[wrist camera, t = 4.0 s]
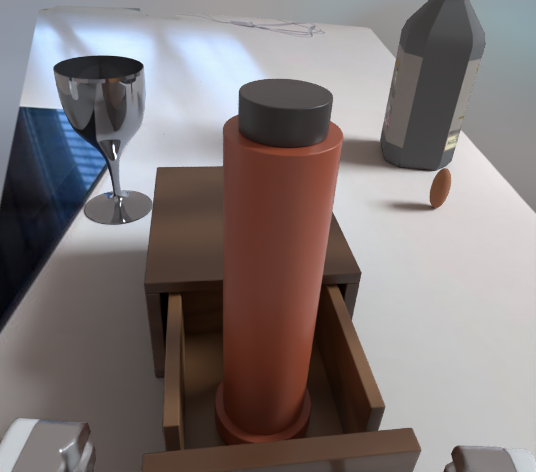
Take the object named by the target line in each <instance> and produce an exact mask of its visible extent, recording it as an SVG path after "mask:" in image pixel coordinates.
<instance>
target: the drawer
mask: <svg viewBox="0 0 536 472" xmlns="http://www.w3.org/2000/svg"><path fill="white" fill-rule="evenodd" d="M222 380H223V290H205V291H185V292H169V293H168V314H167V336H166V357H165V378H164V400H163V421H162V428H163V437H164V445H165V452H157V453H147V454H143V456H142V469H141V472H413V470H414V467H415V465H416V462H417V460H418V457H419V455H420V452H421V447H420V445H419V443H418V440H417V438H416V436H415V434H414V431H413V429H412V428H402V429H392V430H382V431H378V430H379V426H380V423H381V420H382V416H383V413H384V410H385V404H384V401H383V399H382V396H381V394H380V391H379V389H378V386H377V384H376V381H375V379H374V376H373V374H372V371H371V369H370V366H369V363H368V361H367V358H366V356H365V353H364V351H363V348H362V346H361V343H360V341H359V338H358V336H357V333H356V331H355V328H354V326H353V323H352V320H351V318H350V315H349V313H348V310H347V308H346V305H345V303H344V300H343V298H342V295H341V293H340V290H339V288H338V285H337V284H322V285H321V290H320V296H319V303H318V310H317V316H316V323H315V330H314V336H313V343H312V350H311V356H310V363H309V370H308V377H307V383H306V386H307V388H308V390H309V393H310V396H311V405H312V407H311V414H310V420H309V426H308V429H307V432H306V434H305V436H304V438H300V439H290V440H280V441H269V442H259V443H249V444H239V445H228V444H227V443H226V442H225V441H224V440H223V439H222V437H221V435H220V434H219V432H218V429H217V426H216V422H215V395H216V391H217V388H218V386H219V384H220V383H221V381H222Z"/></svg>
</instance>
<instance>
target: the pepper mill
mask: <svg viewBox="0 0 536 472" xmlns="http://www.w3.org/2000/svg"><path fill="white" fill-rule="evenodd" d="M332 102H333V95H332V93H331V92H330V91H328V90H327V89H325V88H324V87H321V86H319V85H316V84H313V83H309V82H305V81H299V80H291V79H264V80H257V81H253V82H249V83H247V84H245V85H243V86H242V87H241V88H240V90H239V111H238V115H236V116H234V117H232V118H230V119H229V120H228V121H227V122H226V123H225V124H224V127H223V380H222V381H221V383H220V384H219V386H218V388H217V391H216V395H215V422H216V426H217V429H218V432H219V434H220V435H221V437H222V439H223V440H224V441H225V442H226V443H227V444H228V445H239V444H249V443H259V442H269V441H280V440H290V439H300V438H304V436H305V434H306V432H307V429H308V426H309V420H310V414H311V407H312V405H311V396H310V393H309V390H308V388H307V386H306V383H307V377H308V370H309V363H310V356H311V350H312V343H313V336H314V330H315V323H316V316H317V310H318V303H319V296H320V290H321V283H322V276H323V270H324V263H325V256H326V249H327V243H328V236H329V229H330V223H331V216H332V209H333V203H334V196H335V189H336V183H337V176H338V169H339V163H340V156H341V149H342V142H343V133H342V131H341V129H340V128H339V127H338V126H337V125H336V124H334V123H333V122H331V121H330V118H331V110H332Z"/></svg>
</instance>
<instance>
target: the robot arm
mask: <svg viewBox="0 0 536 472" xmlns="http://www.w3.org/2000/svg"><path fill="white" fill-rule="evenodd" d="M90 432H91V431H90V428H89V425H88V423H84V422H68V421H52V420H42V419H26V418H17V419H16V420H15V421H14V422H13V423H12V424H11V425H10V426H9V428H8V430H7V432H6V434H5V435H4V437H3V439H2V441H1V443H0V472H93V471H94V465H95V460H96V457H95V446H94V443H92V442H91V441H90V440H89V439H88V437H89V435H90ZM451 455H452V459H453V462H451V463H449V464H448V465H446V466H445V469H444V471H443V472H536V462H535V459H534V457H533V455H532V454H531V453H530V452H529V451H528V450H525V449H514V448H502V447H482V446H456V447H454V449H453V451H452V453H451Z"/></svg>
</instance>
